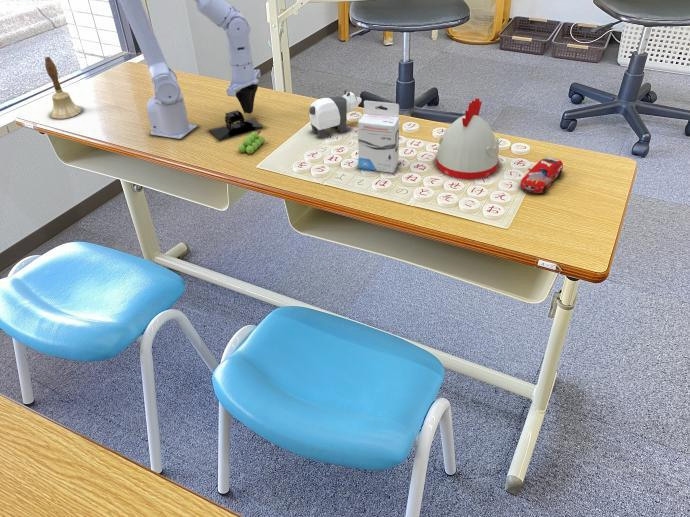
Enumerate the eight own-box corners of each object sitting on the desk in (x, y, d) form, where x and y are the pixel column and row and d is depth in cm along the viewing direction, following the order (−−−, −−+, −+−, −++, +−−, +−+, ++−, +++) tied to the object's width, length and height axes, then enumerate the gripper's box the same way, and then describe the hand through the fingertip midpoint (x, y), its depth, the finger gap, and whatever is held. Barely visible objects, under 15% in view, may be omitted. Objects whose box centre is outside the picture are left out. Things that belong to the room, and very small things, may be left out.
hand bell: (87, 110, 169) (69, 54, 159) (63, 121, 163) (43, 64, 154) (69, 105, 172) (50, 50, 163) (44, 115, 167) (23, 59, 157)
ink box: (357, 169, 136) (356, 108, 127) (363, 159, 139) (362, 99, 130) (393, 173, 133) (394, 112, 124) (399, 163, 137) (400, 103, 128)
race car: (539, 198, 123) (542, 182, 120) (515, 190, 126) (517, 174, 123) (566, 173, 131) (569, 157, 128) (543, 166, 133) (546, 150, 131)
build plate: (219, 141, 150) (216, 124, 147) (209, 131, 155) (205, 114, 152) (263, 128, 155) (261, 111, 152) (251, 119, 160) (249, 102, 157)
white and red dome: (506, 158, 137) (515, 96, 128) (483, 184, 128) (490, 120, 119) (451, 145, 143) (456, 85, 134) (425, 169, 134) (429, 107, 125)
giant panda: (316, 140, 148) (314, 104, 142) (307, 132, 152) (304, 96, 146) (366, 126, 153) (366, 90, 148) (356, 118, 157) (355, 84, 152)
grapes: (237, 153, 144) (235, 140, 142) (254, 138, 150) (252, 125, 148) (252, 155, 143) (250, 142, 141) (268, 140, 149) (266, 127, 147)
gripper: (241, 73, 144) (248, 125, 152) (268, 54, 155) (273, 103, 163) (216, 70, 146) (224, 121, 154) (244, 52, 157) (251, 100, 165)
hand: (248, 112), depth 159 cm, fingers closed
